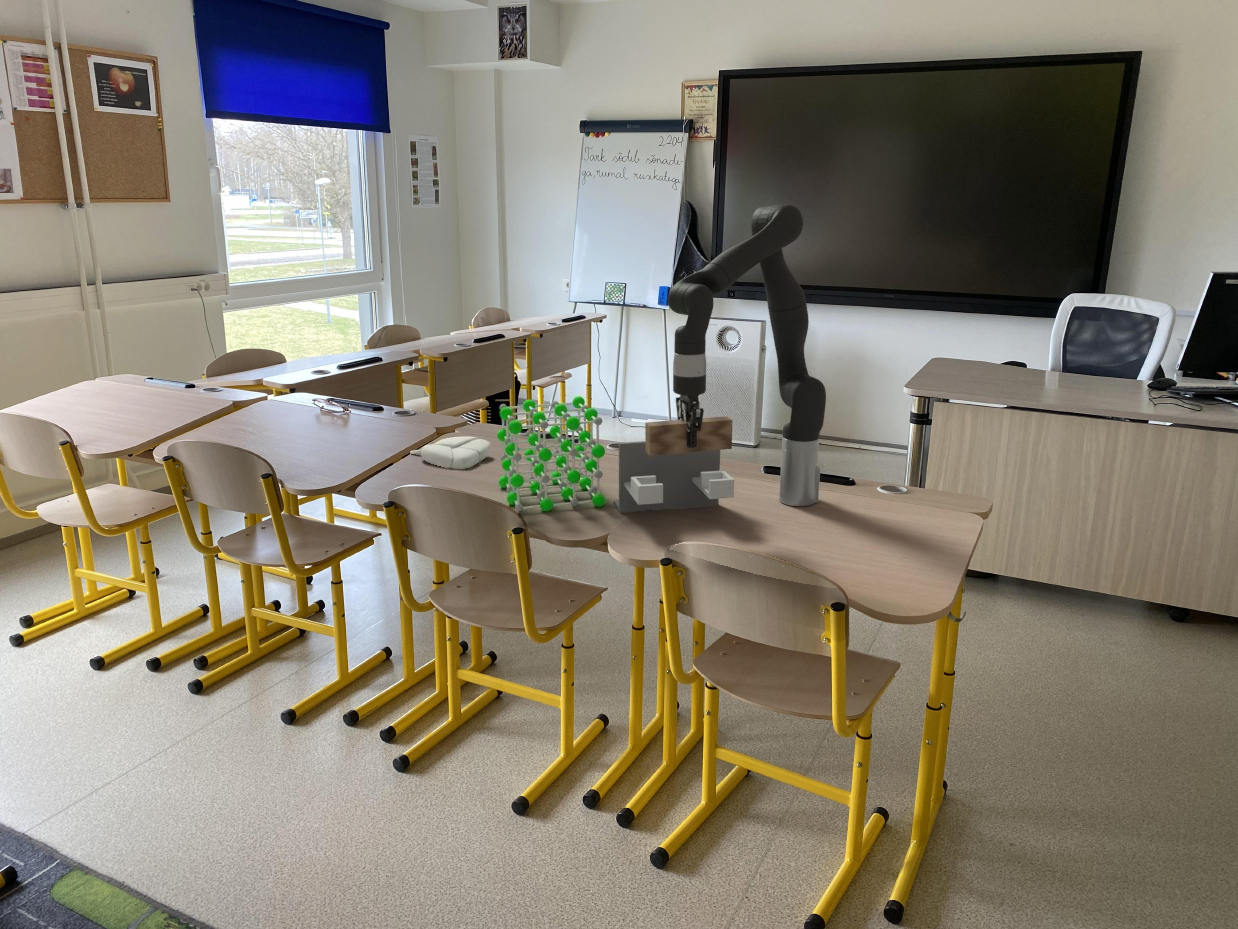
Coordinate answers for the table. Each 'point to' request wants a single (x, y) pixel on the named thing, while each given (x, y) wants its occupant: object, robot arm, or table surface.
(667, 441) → the rail
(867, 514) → the table surface
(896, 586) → the table surface
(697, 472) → the rack
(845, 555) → the table surface
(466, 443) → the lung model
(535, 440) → the molecular structure model
